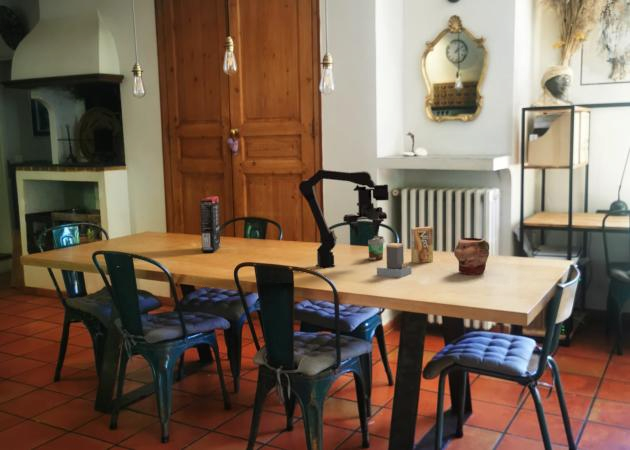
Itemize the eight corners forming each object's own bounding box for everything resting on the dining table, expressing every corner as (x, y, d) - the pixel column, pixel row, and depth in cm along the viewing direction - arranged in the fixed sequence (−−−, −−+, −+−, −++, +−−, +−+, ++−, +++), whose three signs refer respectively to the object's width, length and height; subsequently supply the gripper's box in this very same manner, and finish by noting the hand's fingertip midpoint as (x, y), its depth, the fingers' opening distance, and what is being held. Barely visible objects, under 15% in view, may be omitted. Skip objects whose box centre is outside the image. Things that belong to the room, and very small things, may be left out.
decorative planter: (473, 266, 281) (473, 233, 279) (499, 269, 272) (499, 236, 270) (446, 274, 267) (446, 240, 265) (473, 278, 258) (473, 243, 256)
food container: (381, 262, 295) (381, 240, 294) (368, 261, 297) (367, 239, 296) (387, 257, 307) (387, 235, 305) (374, 256, 309) (374, 235, 307)
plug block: (387, 275, 269) (386, 244, 268) (393, 272, 273) (392, 242, 272) (397, 276, 266) (397, 245, 265) (403, 273, 270) (403, 243, 269)
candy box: (429, 260, 296) (429, 226, 294) (433, 261, 292) (433, 227, 290) (411, 261, 294) (410, 227, 292) (414, 263, 290) (414, 228, 288)
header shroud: (377, 275, 270) (376, 263, 269) (388, 270, 277) (387, 259, 276) (400, 277, 263) (400, 265, 263) (411, 273, 271) (411, 261, 270)
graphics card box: (208, 247, 350) (205, 196, 346) (221, 247, 350) (218, 195, 346) (201, 253, 333) (198, 199, 329) (215, 253, 333) (212, 199, 329)
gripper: (355, 204, 273) (356, 241, 275) (393, 200, 281) (394, 236, 283) (342, 202, 283) (343, 238, 285) (379, 198, 291) (380, 233, 293)
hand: (365, 236), depth 286 cm, fingers open, 9 cm apart
